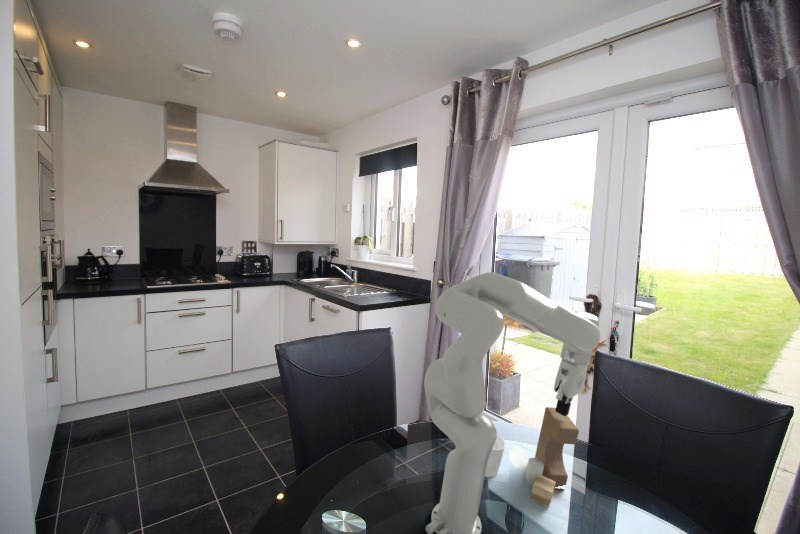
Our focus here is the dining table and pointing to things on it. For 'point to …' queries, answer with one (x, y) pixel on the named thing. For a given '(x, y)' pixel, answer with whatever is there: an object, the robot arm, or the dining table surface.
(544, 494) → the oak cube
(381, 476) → the dining table surface
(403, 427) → the dining table surface
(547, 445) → the decorative block
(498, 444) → the white cup
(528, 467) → the grey tub
